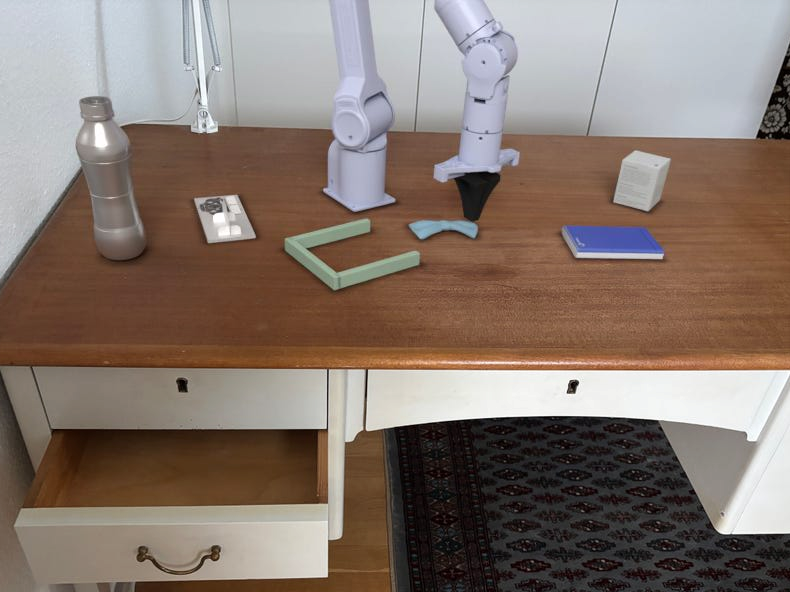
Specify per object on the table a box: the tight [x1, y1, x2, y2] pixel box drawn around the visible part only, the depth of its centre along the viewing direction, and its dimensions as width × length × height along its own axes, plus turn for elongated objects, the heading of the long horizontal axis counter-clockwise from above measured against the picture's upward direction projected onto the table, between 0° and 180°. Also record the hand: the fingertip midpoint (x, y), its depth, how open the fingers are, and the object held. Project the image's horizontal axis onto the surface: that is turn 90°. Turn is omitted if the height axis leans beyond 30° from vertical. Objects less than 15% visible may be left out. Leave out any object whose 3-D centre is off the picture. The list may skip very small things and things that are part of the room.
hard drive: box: [561, 224, 665, 260], centre depth 103 cm, size 2×8×12 cm
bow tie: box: [408, 219, 479, 240], centre depth 105 cm, size 10×2×5 cm
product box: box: [612, 150, 672, 212], centre depth 116 cm, size 6×6×7 cm
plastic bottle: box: [74, 95, 147, 261], centre depth 90 cm, size 6×7×20 cm
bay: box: [284, 217, 421, 291], centre depth 97 cm, size 13×14×2 cm
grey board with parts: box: [193, 194, 257, 244], centre depth 105 cm, size 15×7×4 cm, turn 19°
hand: (471, 218), depth 107 cm, fingers closed
